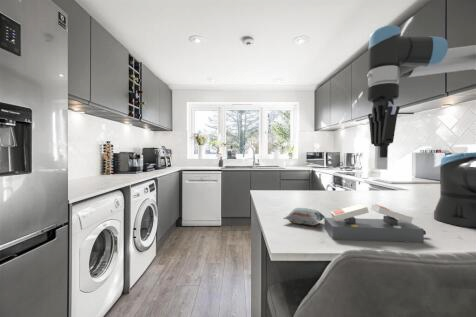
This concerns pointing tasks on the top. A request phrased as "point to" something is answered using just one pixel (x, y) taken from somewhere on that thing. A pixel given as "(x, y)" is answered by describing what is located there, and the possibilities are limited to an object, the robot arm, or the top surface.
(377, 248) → the top surface
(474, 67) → the robot arm
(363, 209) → the white switch paddle
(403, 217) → the rocker white
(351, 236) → the rocker switch box
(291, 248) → the top surface
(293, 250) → the top surface
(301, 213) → the packaged food
